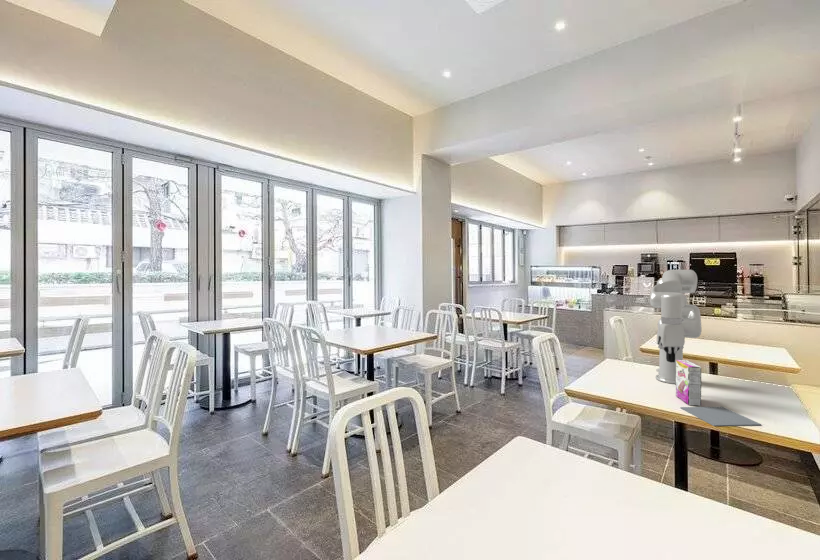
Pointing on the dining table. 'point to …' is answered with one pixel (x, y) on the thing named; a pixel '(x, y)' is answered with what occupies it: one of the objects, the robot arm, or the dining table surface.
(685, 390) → the candy bar box
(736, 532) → the dining table surface
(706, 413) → the mat
